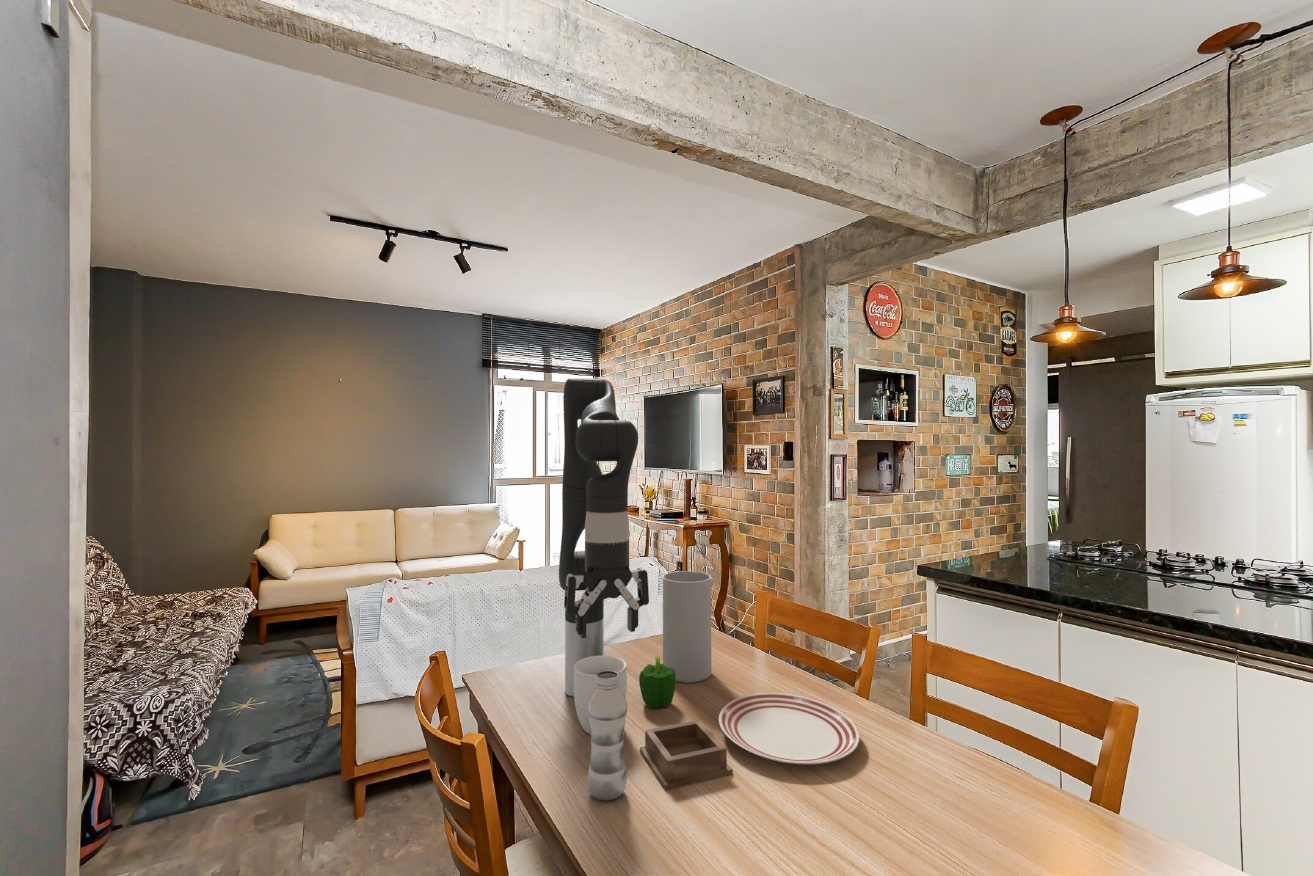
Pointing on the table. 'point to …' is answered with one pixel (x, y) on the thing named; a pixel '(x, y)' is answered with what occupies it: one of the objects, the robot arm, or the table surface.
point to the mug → (594, 682)
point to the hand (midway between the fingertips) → (607, 633)
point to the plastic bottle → (607, 738)
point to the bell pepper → (657, 684)
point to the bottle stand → (684, 754)
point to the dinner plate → (789, 728)
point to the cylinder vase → (687, 625)
